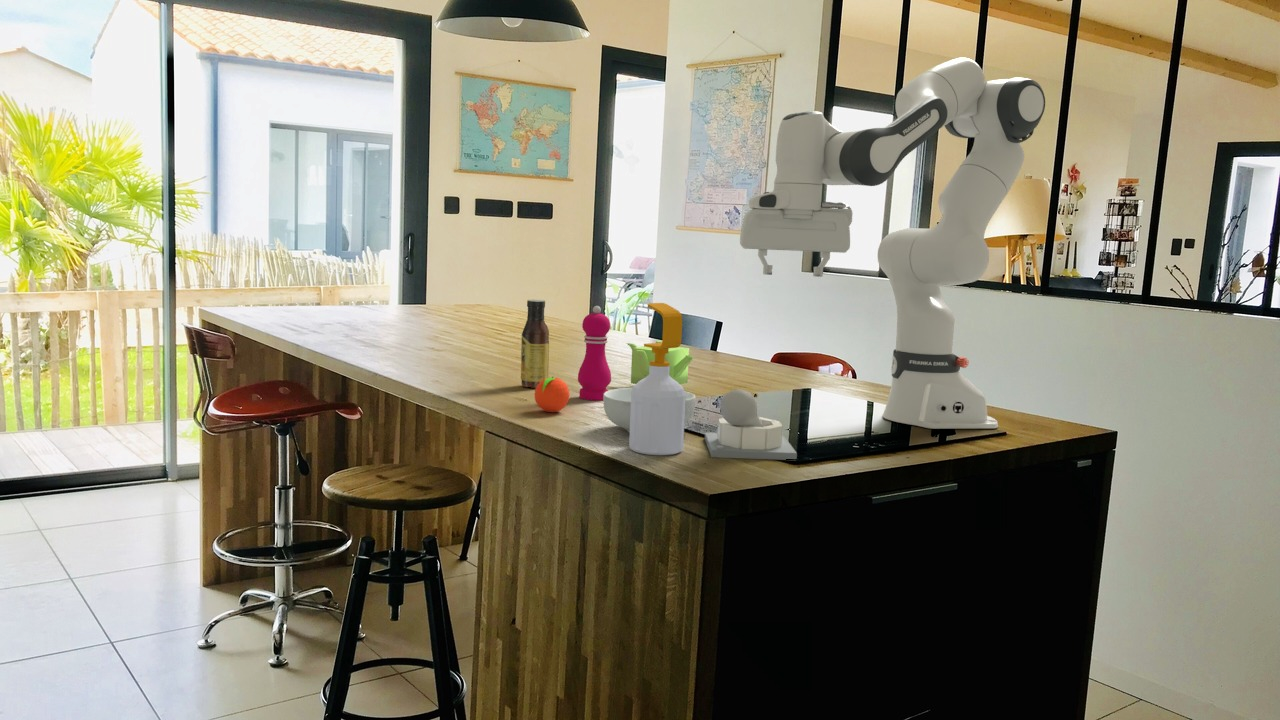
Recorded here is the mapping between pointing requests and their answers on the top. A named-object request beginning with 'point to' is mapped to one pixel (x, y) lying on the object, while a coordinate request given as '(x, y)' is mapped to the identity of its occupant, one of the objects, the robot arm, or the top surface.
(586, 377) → the pepper mill
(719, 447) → the mounting plate
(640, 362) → the kettle
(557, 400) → the clementine
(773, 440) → the socket ring
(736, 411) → the lightbulb
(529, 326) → the sauce bottle
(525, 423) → the top surface
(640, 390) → the soap bottle
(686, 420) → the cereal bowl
